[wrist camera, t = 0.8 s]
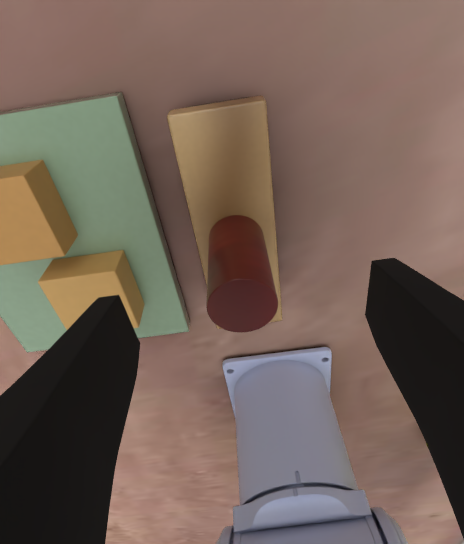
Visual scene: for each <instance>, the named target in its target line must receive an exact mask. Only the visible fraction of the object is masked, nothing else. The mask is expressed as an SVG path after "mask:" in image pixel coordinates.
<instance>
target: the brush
mask: <svg viewBox="0 0 464 544" xmlns="http://www.w3.org/2000/svg"><path fill="white" fill-rule="evenodd" d="M167 120H168V124H169V128H170V133H171V137H172V141H173V145H174V149H175V154H176V158H177V162H178V166H179V171H180V175H181V179H182V183H183V188H184V192H185V196H186V200H187V204H188V209H189V213H190V217H191V221H192V226H193V230H194V234H195V238H196V243H197V247H198V251H199V255H200V260H201V264H202V268H203V272H204V276H205V281H206V285H207V312H208V315H209V317H210V318H211V320H212V321H213V322H214V323H215V324H216V327H217V329H221V328H223V329H225V330H228V331H232V332H249V331H253V330H257V329H259V328H261V327H263V326H265V325H266V324H268V323H269V322H276V321H282V309H281V295H280V282H279V268H278V255H277V241H276V228H275V215H274V201H273V188H272V174H271V161H270V147H269V134H268V121H267V107H266V101H265V99H264V97H263V96H255V97H246V98H240V99H234V100H228V101H222V102H216V103H209V104H203V105H197V106H191V107H186V108H181V109H175V110H171V111H169V113H168V115H167Z"/></svg>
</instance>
